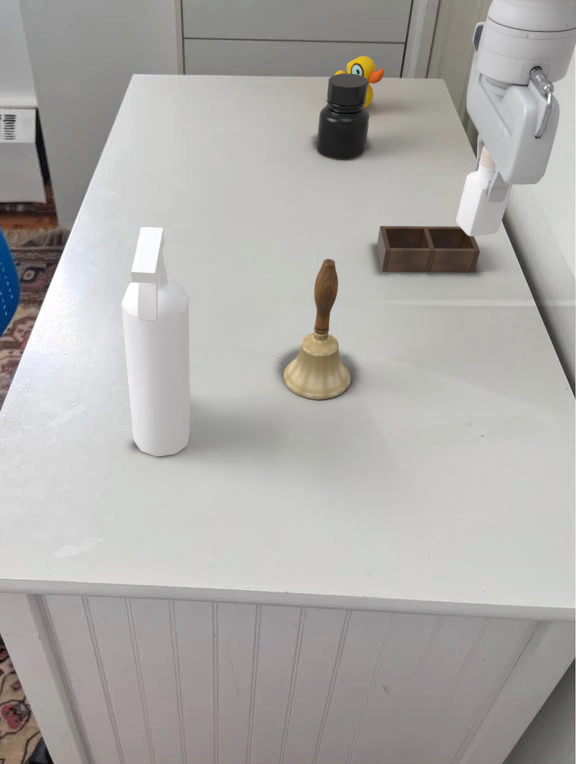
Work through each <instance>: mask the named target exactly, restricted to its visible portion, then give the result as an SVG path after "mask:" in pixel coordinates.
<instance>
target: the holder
mask: <svg viewBox="0 0 576 764" xmlns="http://www.w3.org/2000/svg"><path fill="white" fill-rule="evenodd" d="M376 251H377V255H378V261H379V265H380V270H381V272H382V273H465V274H467V273H475V270H476V267H477V264H478V259H479V257H480V253H481V249H480V248H479V245H478V242H477V240H476V236H469V235H467V234H466V233H465V232H464V231H463V230H462V228H461V227H460V226H453V225H451V226H442V225H441V226H440V225H439V226H438V225H436V226H435V225H433V226H432V225H428V226H427V225H426V226H425V225H424V226H423V225H422V226H421V225H380V226H379V231H378V236H377V242H376Z"/></svg>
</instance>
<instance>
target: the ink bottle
mask: <svg viewBox="0 0 576 764" xmlns="http://www.w3.org/2000/svg"><path fill="white" fill-rule="evenodd" d="M335 74H336V73H335ZM335 74H334V75H331V76H330V77H329V78H328V83H327V92H326V105H325V106H324V107H322V109H321V110H320V112H319V116H318V127H317V137H316V138H317V139H316V150H317V152H318V153H319V154H321V155H322V156H325V157H327V158H330V157H331V158H330V159H335V158H336V159H337V160H350V159H354V158H358V157H359V156H361V155H362V154H364V151H365V150H366V145H367V140H368V132H369V125H370V123H369V122H370V112H369V110H368V109H367V107H366V108H365V107H364V104H365V100H366V94H367V87H368V79H366V78H365V77H364V76H360V75H358V74H347V73H346V74H344V73H343V74H336V75H335Z"/></svg>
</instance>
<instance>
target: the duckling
mask: <svg viewBox="0 0 576 764" xmlns="http://www.w3.org/2000/svg"><path fill="white" fill-rule="evenodd" d="M346 72H347V73H346ZM346 72H345V70H338V71H336V72H335V73H334V75H336V74H343V73H344V74H358V75H360V76H364V77H365V78H366V79H368V87H367V94H366V100H365V104H364V107H365V108H366V109H367V107H368V106H370V105H371V104H372V102H373V99H374V90H373V87H372V85H371V84H377V83H379V82H381V80H382V79H383V78H384V75H385V69H384V68H383V67H381V68H380V69H379V70H378V71H376V64H375V62H374V60H373V59H372V58H371V57H369V56H366V55H360V56H358V57H356V58H354V59H353V60H350V61H349V62H348V63H347V65H346Z"/></svg>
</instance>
